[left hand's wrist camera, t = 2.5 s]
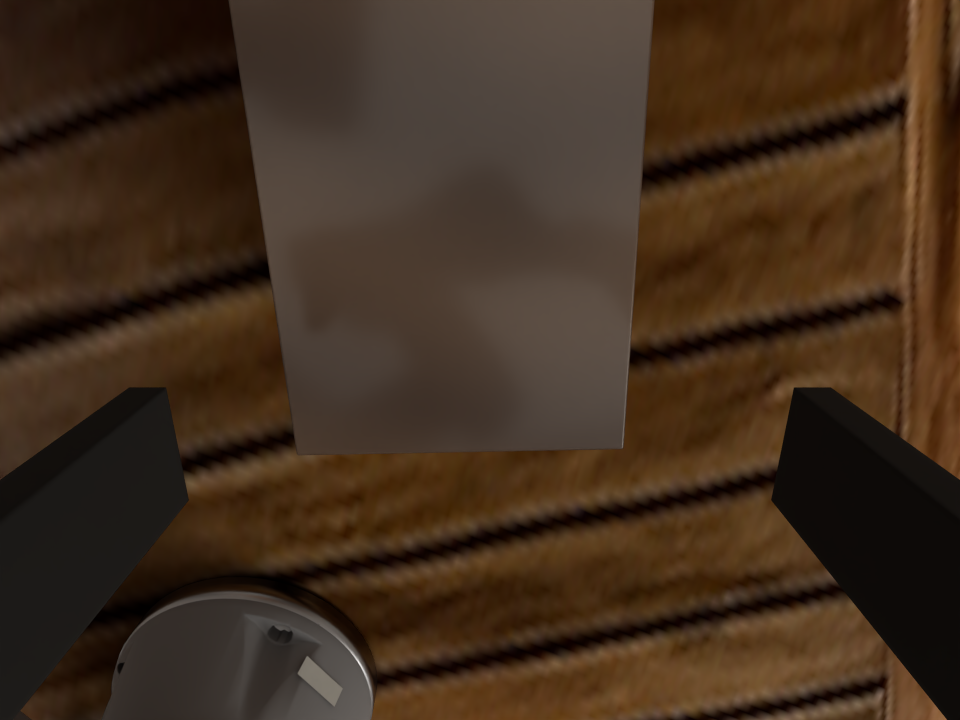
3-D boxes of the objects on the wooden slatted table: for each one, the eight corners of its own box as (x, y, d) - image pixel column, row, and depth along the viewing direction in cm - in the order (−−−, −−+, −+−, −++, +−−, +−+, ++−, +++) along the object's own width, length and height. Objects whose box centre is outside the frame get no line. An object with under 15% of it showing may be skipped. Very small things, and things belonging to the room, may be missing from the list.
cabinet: (306, -188, 22) (157, -459, 12) (594, -197, 22) (688, -479, 12) (360, 346, 30) (296, 456, 20) (575, 342, 30) (623, 449, 19)
